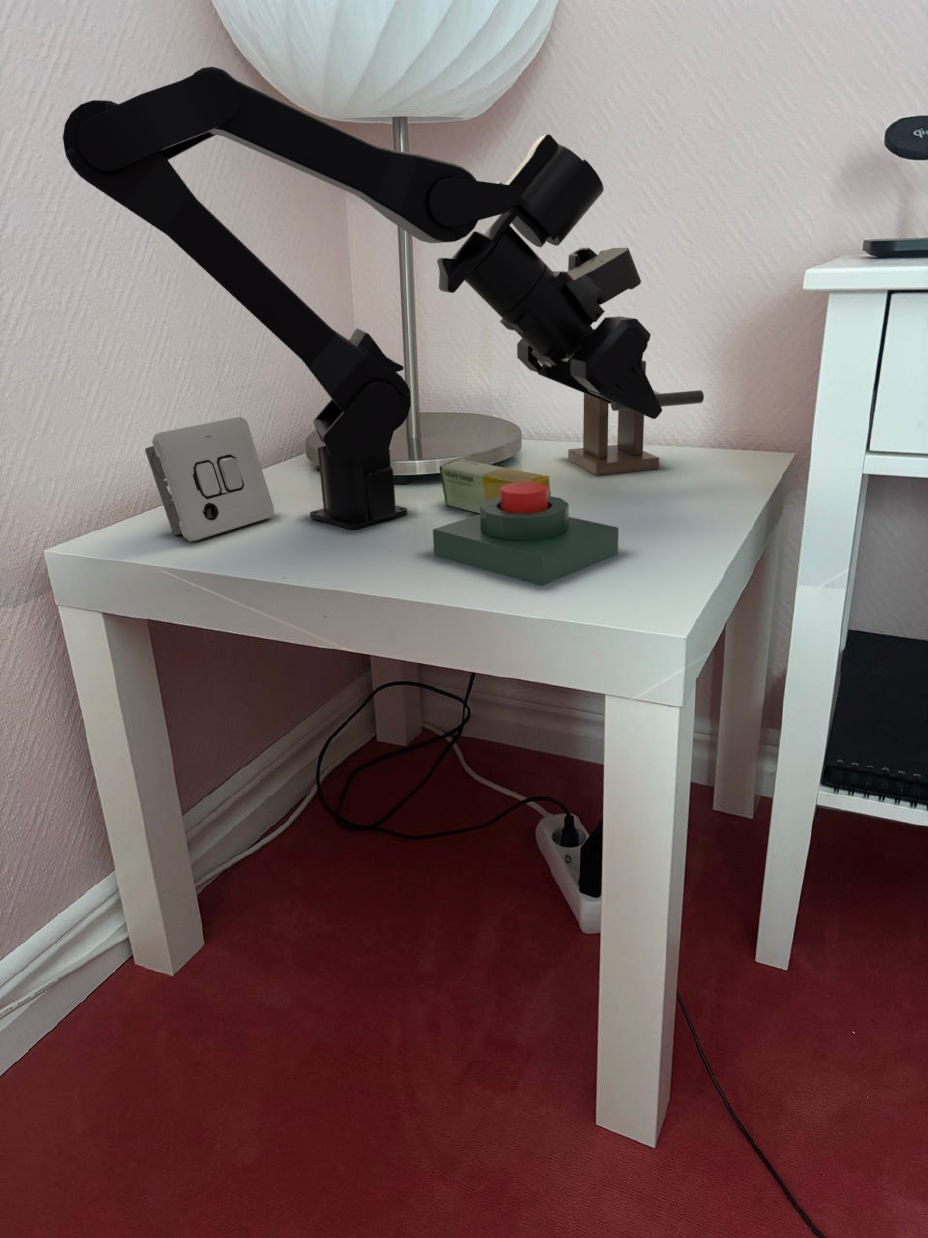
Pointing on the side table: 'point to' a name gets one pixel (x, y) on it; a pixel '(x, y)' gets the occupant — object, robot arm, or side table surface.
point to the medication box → (479, 482)
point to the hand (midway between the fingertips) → (635, 407)
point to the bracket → (612, 457)
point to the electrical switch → (209, 478)
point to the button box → (526, 542)
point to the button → (524, 497)
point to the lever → (671, 399)
